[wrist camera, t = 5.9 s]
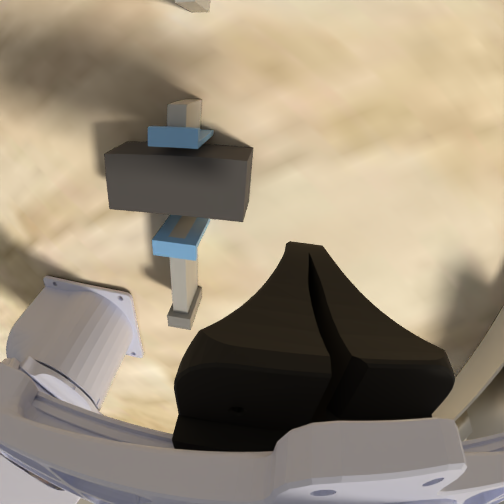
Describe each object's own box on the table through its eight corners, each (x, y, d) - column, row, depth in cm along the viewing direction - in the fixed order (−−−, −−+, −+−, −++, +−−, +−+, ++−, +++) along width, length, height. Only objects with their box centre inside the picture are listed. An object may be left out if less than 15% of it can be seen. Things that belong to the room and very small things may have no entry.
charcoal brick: (131, 189, 20) (109, 209, 18) (128, 140, 19) (104, 153, 16) (249, 199, 20) (243, 221, 17) (253, 147, 18) (247, 161, 16)
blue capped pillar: (175, 293, 24) (161, 325, 21) (183, -28, 12) (161, -46, 9) (208, 298, 24) (197, 332, 21) (228, -30, 12) (214, -50, 9)
